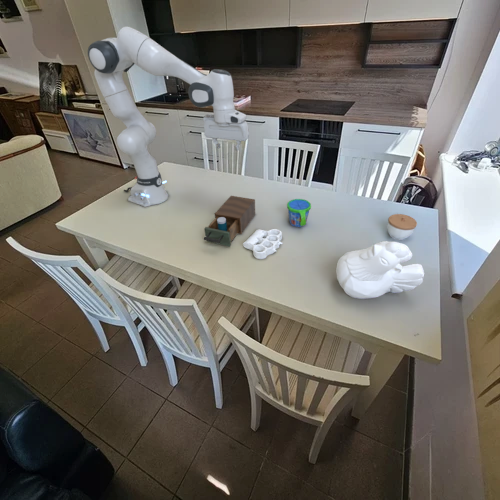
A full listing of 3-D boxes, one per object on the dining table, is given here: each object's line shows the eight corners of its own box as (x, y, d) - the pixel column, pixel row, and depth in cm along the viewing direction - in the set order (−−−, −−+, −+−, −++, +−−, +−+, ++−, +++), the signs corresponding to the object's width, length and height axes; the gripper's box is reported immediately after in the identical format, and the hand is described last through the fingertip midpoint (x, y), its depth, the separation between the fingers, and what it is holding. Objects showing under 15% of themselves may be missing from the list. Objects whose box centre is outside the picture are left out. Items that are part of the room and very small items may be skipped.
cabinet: (241, 234, 126) (240, 218, 121) (216, 229, 130) (214, 213, 125) (255, 214, 138) (254, 199, 133) (232, 210, 142) (231, 195, 137)
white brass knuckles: (260, 230, 128) (289, 239, 122) (238, 251, 116) (269, 263, 110) (260, 223, 126) (289, 233, 120) (238, 245, 114) (269, 256, 108)
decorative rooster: (322, 282, 92) (386, 255, 72) (334, 248, 101) (394, 216, 80) (376, 323, 96) (450, 309, 76) (382, 287, 105) (451, 265, 85)
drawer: (224, 253, 115) (223, 240, 110) (200, 247, 118) (198, 235, 114) (245, 225, 130) (244, 213, 125) (223, 221, 133) (221, 209, 129)
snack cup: (284, 214, 137) (285, 196, 131) (305, 213, 137) (307, 195, 131) (288, 233, 125) (289, 214, 119) (312, 232, 125) (314, 212, 119)
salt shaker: (217, 236, 122) (215, 221, 117) (221, 231, 125) (219, 216, 120) (225, 238, 121) (223, 222, 116) (229, 233, 124) (227, 217, 119)
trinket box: (409, 230, 123) (417, 212, 117) (412, 245, 115) (419, 226, 109) (383, 227, 126) (389, 209, 120) (384, 240, 118) (390, 222, 112)
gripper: (199, 116, 117) (203, 149, 126) (243, 119, 111) (245, 153, 119) (206, 112, 121) (210, 144, 130) (249, 115, 115) (250, 148, 124)
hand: (227, 149), depth 125 cm, fingers open, 8 cm apart
